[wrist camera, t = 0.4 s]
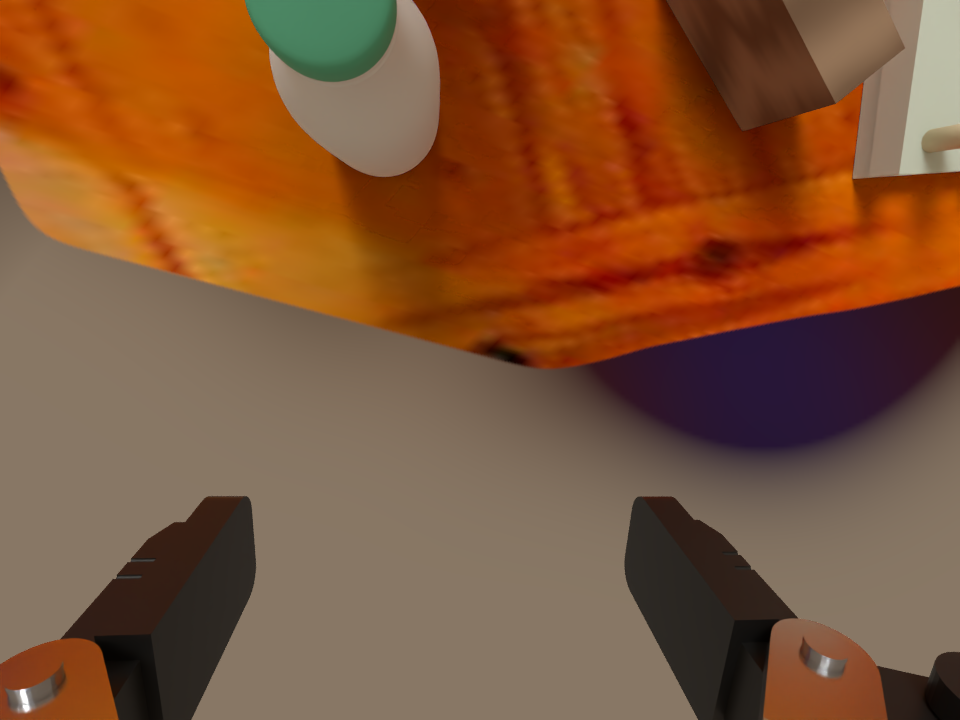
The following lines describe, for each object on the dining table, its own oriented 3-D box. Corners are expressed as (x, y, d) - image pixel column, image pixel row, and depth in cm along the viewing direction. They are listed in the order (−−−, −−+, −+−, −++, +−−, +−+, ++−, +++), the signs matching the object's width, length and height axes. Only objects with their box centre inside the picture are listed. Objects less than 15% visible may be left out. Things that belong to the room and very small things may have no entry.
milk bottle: (460, 135, 35) (494, 29, 16) (370, 200, 36) (298, 174, 17) (393, 28, 33) (338, -240, 14) (298, 99, 34) (121, -64, 15)
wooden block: (652, -23, 34) (727, -107, 25) (710, -73, 33) (807, -176, 25) (741, 131, 37) (835, 103, 28) (795, 87, 36) (908, 45, 28)
